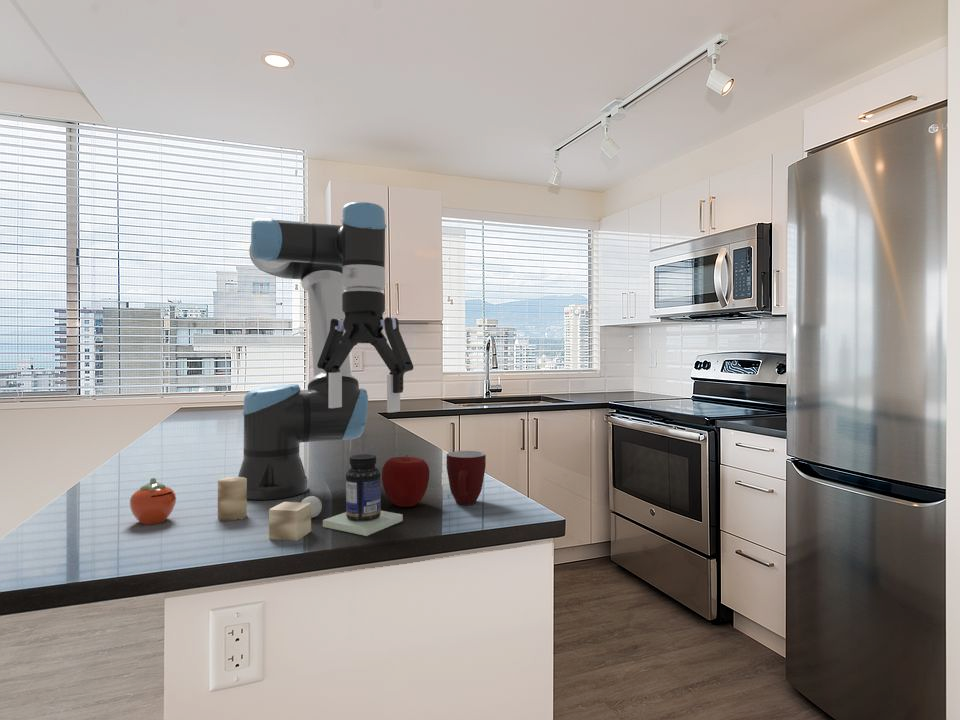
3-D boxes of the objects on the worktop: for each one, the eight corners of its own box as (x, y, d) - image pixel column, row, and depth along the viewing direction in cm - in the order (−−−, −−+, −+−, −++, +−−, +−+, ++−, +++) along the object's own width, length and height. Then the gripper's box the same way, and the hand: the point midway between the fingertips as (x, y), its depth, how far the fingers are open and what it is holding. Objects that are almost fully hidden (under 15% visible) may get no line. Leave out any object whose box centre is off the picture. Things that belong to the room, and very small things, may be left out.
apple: (431, 510, 113) (431, 459, 113) (381, 512, 111) (381, 461, 111) (427, 498, 122) (427, 451, 122) (381, 500, 121) (381, 452, 120)
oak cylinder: (211, 518, 107) (211, 480, 107) (234, 512, 111) (234, 475, 111) (229, 522, 105) (229, 484, 104) (252, 515, 109) (252, 478, 109)
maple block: (269, 539, 96) (269, 509, 95) (284, 530, 100) (284, 501, 100) (297, 541, 95) (297, 511, 95) (310, 531, 100) (311, 503, 100)
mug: (486, 511, 113) (486, 460, 113) (444, 511, 113) (445, 460, 112) (484, 497, 123) (485, 450, 123) (447, 497, 123) (447, 450, 123)
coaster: (322, 526, 102) (322, 520, 102) (360, 513, 111) (360, 506, 111) (366, 535, 97) (366, 528, 97) (402, 520, 106) (402, 514, 106)
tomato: (145, 530, 100) (144, 484, 100) (120, 523, 104) (120, 479, 103) (185, 519, 106) (184, 476, 106) (160, 513, 110) (160, 471, 110)
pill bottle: (382, 511, 107) (382, 452, 107) (379, 521, 101) (379, 459, 101) (348, 512, 107) (348, 453, 107) (343, 522, 101) (343, 459, 100)
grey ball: (294, 518, 107) (294, 497, 107) (310, 513, 110) (310, 492, 110) (310, 522, 105) (310, 500, 105) (326, 516, 108) (326, 495, 108)
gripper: (297, 292, 106) (297, 407, 107) (407, 286, 94) (407, 416, 94) (327, 296, 113) (327, 404, 113) (433, 290, 101) (432, 411, 101)
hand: (363, 409), depth 104 cm, fingers open, 13 cm apart
